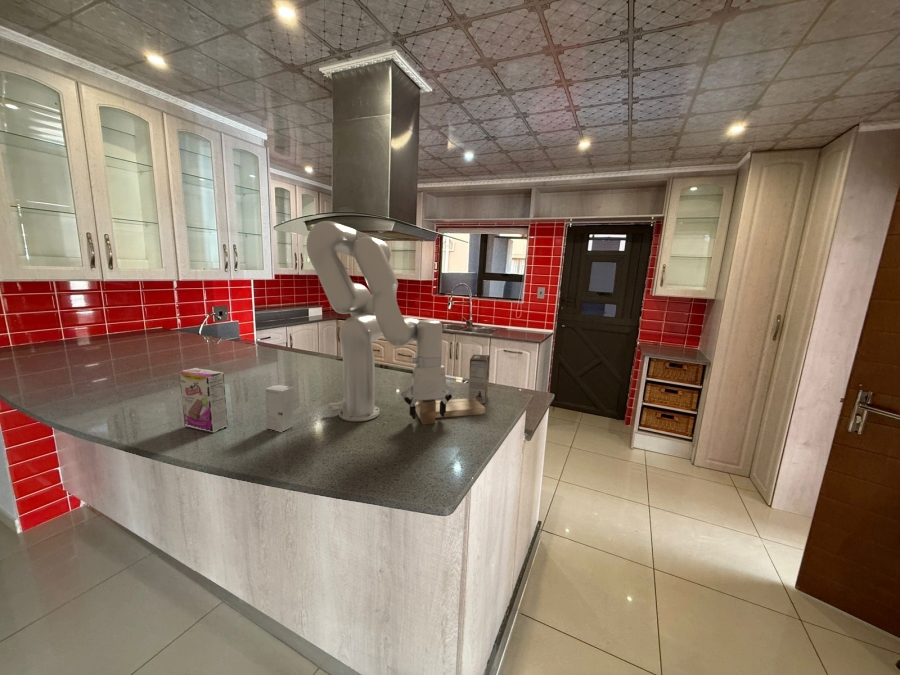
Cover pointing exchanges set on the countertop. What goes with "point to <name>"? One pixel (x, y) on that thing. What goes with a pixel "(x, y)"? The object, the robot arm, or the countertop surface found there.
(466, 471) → the countertop surface
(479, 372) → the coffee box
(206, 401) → the candy bar box
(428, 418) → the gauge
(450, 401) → the board
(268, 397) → the skincare box
